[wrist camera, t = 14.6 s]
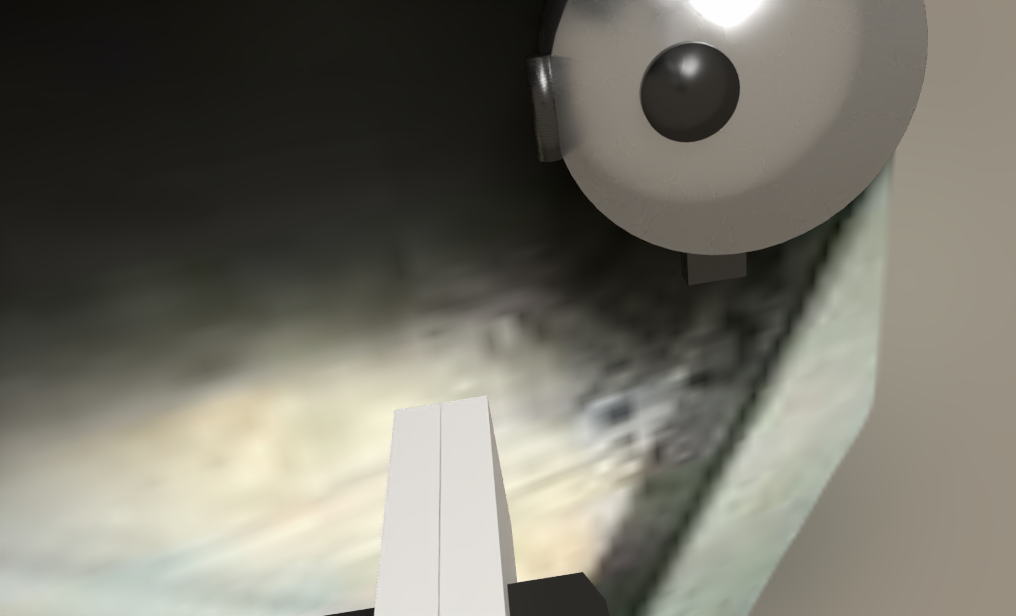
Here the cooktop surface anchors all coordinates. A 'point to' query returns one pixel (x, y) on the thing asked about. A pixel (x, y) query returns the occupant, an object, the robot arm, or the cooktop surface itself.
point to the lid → (726, 111)
